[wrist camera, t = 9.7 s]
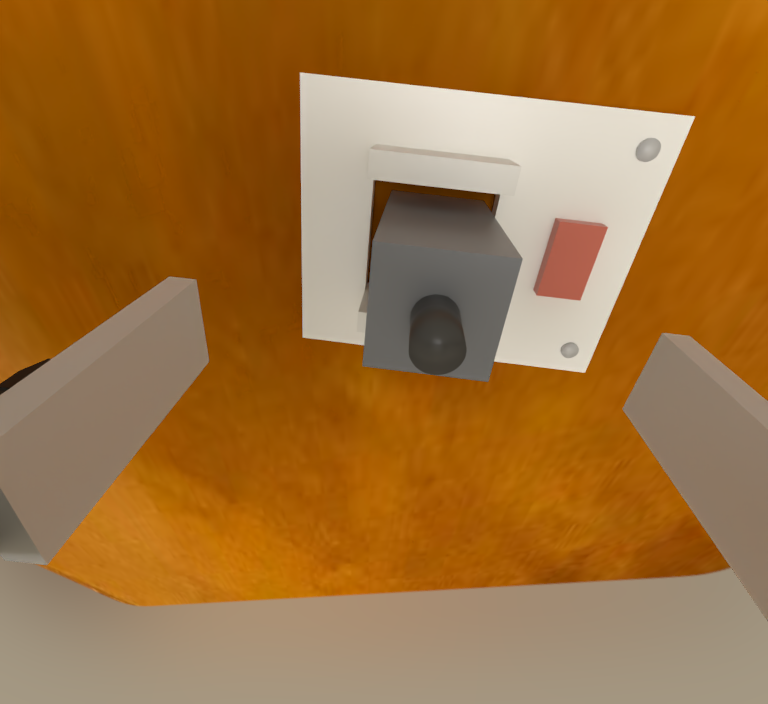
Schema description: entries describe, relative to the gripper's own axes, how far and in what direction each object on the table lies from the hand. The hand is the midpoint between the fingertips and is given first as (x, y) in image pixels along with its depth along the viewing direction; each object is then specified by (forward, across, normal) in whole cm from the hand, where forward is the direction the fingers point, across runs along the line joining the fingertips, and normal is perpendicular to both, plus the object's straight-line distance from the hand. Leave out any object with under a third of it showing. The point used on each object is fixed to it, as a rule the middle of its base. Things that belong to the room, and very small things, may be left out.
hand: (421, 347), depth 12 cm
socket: (+13, +3, 0) cm, 13 cm away
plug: (+13, +1, -1) cm, 13 cm away
